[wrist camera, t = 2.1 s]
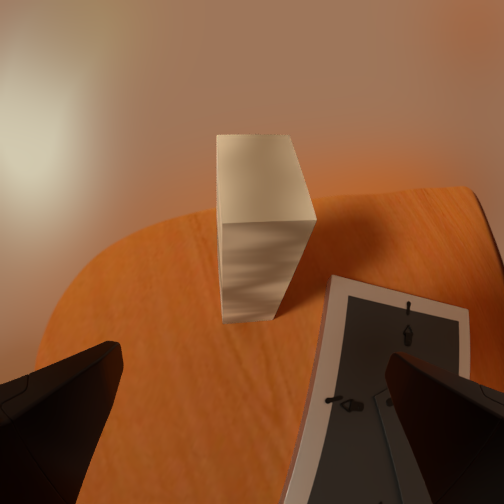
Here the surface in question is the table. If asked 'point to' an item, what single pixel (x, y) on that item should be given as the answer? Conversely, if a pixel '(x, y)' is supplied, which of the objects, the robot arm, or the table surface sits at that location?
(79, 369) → the robot arm
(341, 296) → the picture frame
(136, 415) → the table surface
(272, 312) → the pale beige block
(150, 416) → the table surface
